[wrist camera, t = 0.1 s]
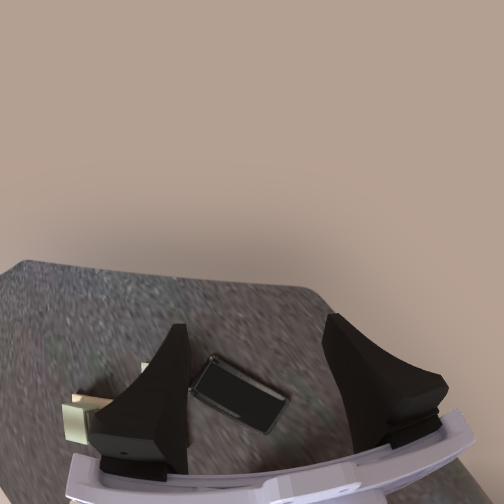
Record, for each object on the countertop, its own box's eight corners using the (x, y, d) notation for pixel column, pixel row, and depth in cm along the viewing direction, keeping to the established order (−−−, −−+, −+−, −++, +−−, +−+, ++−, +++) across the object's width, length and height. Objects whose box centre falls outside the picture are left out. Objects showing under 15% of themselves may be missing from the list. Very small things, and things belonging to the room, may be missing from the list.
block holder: (187, 448, 36) (180, 463, 29) (79, 434, 34) (59, 442, 27) (183, 405, 39) (175, 413, 32) (75, 393, 37) (54, 396, 30)
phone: (211, 352, 42) (291, 399, 40) (212, 353, 43) (290, 398, 41) (185, 392, 39) (266, 438, 37) (186, 391, 40) (265, 436, 38)
